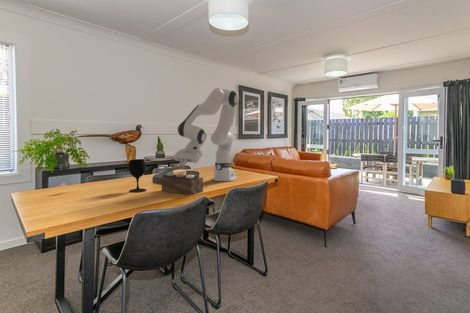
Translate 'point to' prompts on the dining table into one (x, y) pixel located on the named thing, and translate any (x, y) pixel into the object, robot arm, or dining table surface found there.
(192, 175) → the cream button
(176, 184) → the dark brown wooden box
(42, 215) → the dining table surface
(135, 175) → the wine glass
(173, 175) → the sage button
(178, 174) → the terracotta button
